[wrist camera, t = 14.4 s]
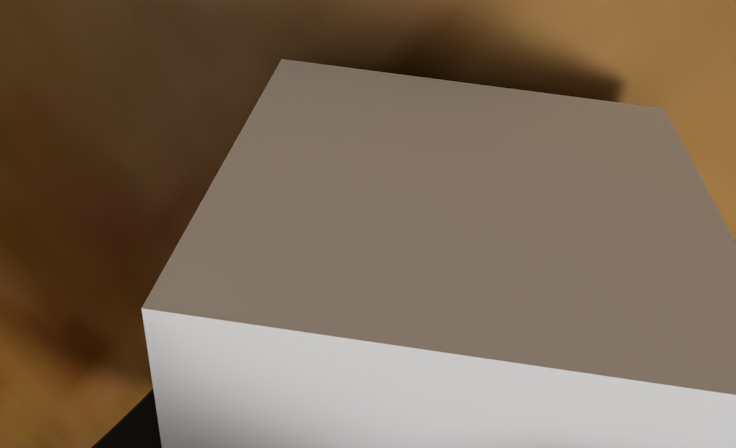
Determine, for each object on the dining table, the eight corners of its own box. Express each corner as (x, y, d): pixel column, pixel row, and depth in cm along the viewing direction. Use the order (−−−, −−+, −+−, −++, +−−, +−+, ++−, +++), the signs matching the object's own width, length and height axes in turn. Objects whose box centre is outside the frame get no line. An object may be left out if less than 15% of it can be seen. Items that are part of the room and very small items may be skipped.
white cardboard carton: (282, 59, 11) (141, 308, 6) (664, 108, 11) (824, 407, 6) (276, 439, 17) (201, 718, 12) (525, 477, 17) (549, 778, 12)
